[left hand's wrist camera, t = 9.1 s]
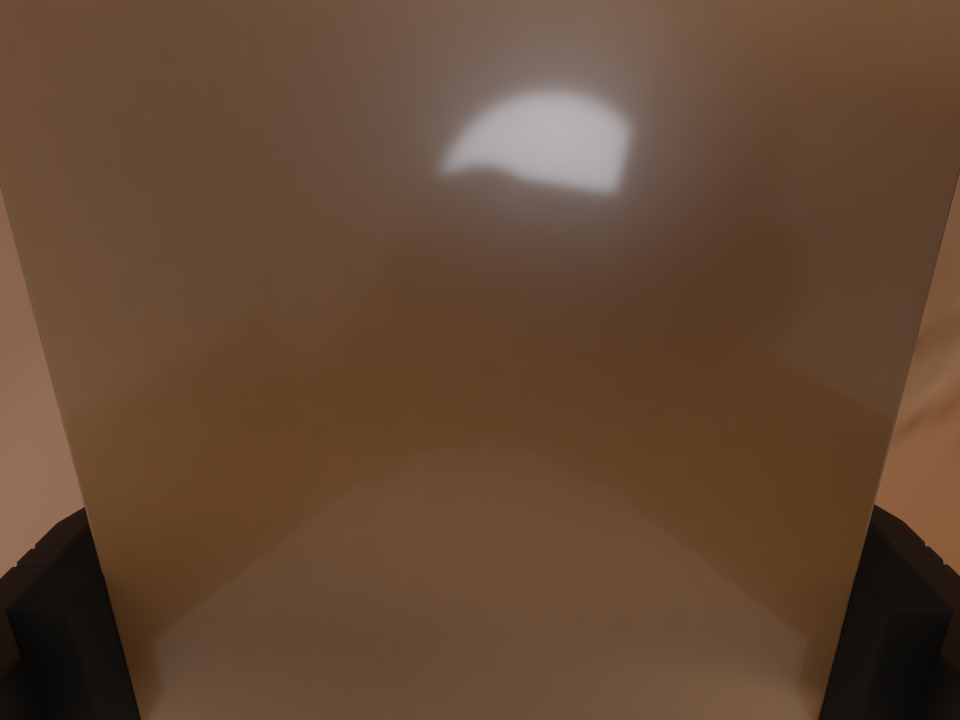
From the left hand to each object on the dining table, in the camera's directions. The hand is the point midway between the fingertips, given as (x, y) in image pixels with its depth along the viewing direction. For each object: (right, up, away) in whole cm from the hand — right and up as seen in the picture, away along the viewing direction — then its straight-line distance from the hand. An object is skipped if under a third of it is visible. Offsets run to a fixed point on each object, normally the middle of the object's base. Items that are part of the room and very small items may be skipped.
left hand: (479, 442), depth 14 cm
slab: (0, +32, -11) cm, 34 cm away
